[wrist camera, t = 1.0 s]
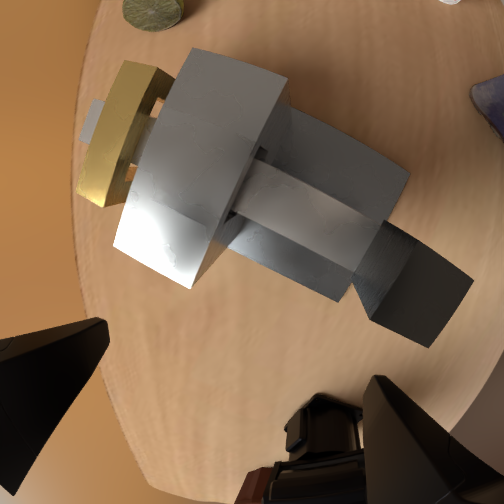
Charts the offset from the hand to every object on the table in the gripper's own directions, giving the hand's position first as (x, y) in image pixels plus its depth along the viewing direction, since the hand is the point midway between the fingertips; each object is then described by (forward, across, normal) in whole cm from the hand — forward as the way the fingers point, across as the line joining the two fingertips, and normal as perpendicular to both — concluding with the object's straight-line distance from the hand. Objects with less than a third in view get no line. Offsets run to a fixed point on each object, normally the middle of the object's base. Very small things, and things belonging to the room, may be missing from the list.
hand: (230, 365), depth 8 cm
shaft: (+7, +1, -5) cm, 9 cm away
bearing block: (+13, +1, -5) cm, 14 cm away
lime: (+13, +11, -19) cm, 26 cm away
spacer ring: (+7, +7, -7) cm, 12 cm away
